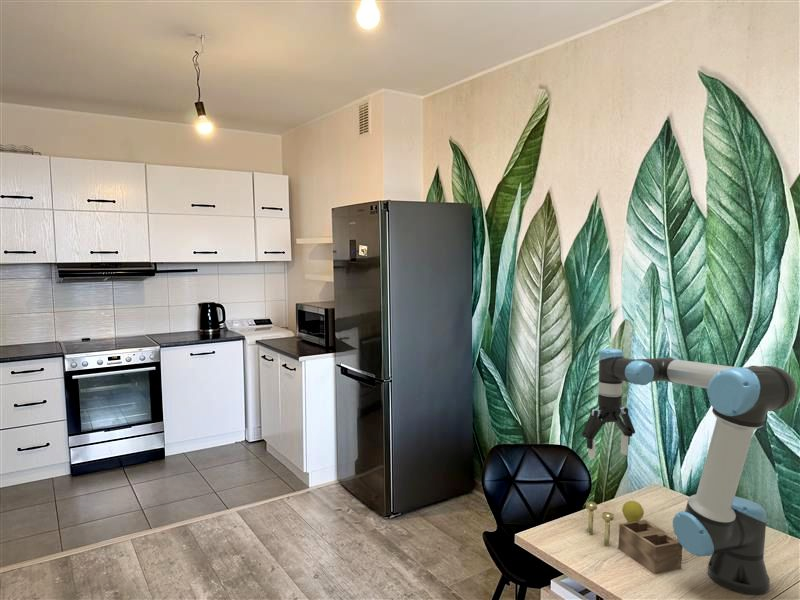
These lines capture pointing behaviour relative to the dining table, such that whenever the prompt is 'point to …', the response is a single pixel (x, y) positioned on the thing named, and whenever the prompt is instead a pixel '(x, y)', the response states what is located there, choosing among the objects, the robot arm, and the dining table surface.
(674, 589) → the dining table surface
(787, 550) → the dining table surface
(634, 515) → the light bulb
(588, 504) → the post
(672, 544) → the keyhole block
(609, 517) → the post
